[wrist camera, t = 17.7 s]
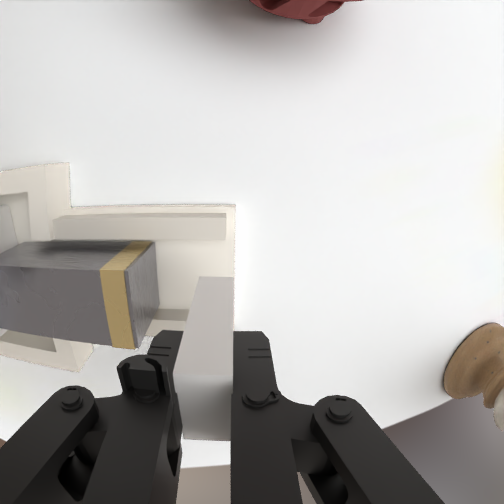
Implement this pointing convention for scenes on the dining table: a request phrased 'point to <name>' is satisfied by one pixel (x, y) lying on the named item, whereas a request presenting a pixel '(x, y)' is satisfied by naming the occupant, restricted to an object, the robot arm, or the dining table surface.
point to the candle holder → (480, 369)
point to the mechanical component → (301, 8)
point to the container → (6, 235)
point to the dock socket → (116, 230)
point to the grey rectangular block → (80, 291)
